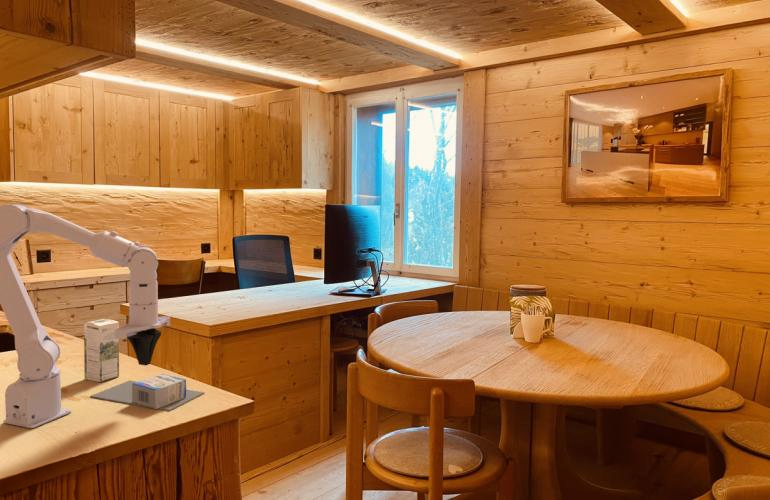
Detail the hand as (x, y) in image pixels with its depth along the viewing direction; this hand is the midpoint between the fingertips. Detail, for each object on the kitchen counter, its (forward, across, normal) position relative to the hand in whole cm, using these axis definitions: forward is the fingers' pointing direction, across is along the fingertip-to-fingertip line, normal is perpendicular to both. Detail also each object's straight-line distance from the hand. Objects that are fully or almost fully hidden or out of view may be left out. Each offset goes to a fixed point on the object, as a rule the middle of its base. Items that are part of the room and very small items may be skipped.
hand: (144, 364), depth 126 cm
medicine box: (+7, -1, 0) cm, 7 cm away
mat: (+9, +6, +4) cm, 12 cm away
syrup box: (+10, +11, +23) cm, 27 cm away
